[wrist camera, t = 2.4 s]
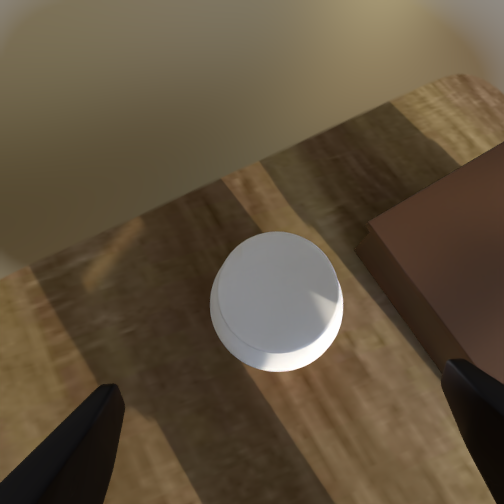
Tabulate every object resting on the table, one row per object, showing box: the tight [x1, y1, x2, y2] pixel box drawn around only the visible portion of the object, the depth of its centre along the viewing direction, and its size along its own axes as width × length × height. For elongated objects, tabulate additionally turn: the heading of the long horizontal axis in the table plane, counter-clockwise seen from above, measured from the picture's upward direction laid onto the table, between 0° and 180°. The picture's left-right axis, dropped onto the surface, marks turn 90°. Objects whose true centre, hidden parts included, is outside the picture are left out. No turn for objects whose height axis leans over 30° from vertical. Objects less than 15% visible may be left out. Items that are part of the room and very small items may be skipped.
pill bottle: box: [210, 232, 343, 372], centre depth 16 cm, size 5×5×10 cm
